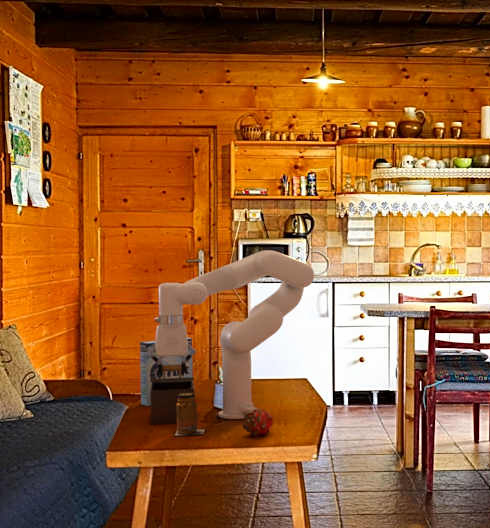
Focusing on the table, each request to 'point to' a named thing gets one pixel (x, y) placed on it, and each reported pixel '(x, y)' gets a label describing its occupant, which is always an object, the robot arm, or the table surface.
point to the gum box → (151, 369)
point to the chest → (167, 400)
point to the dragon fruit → (258, 422)
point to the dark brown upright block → (172, 368)
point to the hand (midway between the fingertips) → (172, 375)
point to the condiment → (187, 415)
